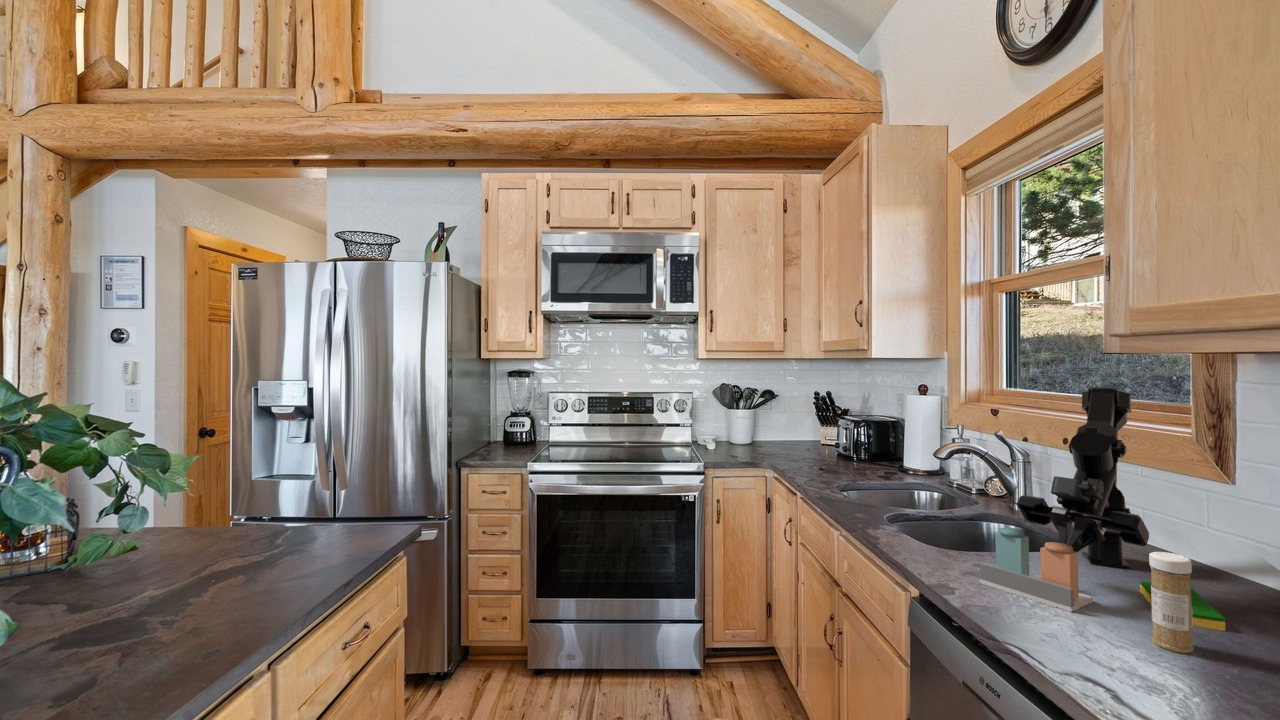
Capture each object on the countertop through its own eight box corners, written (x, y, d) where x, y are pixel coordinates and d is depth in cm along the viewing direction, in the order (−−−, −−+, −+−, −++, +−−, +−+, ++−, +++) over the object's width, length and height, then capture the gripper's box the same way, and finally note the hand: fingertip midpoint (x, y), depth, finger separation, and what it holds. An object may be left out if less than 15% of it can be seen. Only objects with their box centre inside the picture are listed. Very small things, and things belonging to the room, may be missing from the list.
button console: (1002, 574, 111) (1002, 555, 111) (1093, 601, 98) (1092, 580, 98) (979, 583, 107) (979, 563, 107) (1071, 612, 94) (1070, 589, 94)
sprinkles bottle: (1197, 648, 82) (1195, 556, 82) (1188, 657, 79) (1186, 563, 79) (1156, 636, 85) (1154, 548, 86) (1146, 644, 83) (1144, 554, 83)
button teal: (1005, 570, 110) (1004, 526, 110) (1030, 577, 106) (1029, 531, 106) (994, 574, 108) (993, 529, 108) (1020, 582, 104) (1019, 535, 104)
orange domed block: (1050, 588, 101) (1049, 540, 101) (1080, 597, 97) (1079, 547, 97) (1039, 593, 99) (1038, 544, 99) (1069, 602, 95) (1068, 551, 95)
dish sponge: (1165, 624, 90) (1165, 609, 90) (1139, 593, 102) (1139, 580, 102) (1226, 634, 87) (1226, 618, 87) (1191, 600, 99) (1191, 587, 99)
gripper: (1020, 453, 110) (990, 517, 104) (1140, 468, 94) (1114, 544, 88) (1040, 488, 114) (1013, 552, 108) (1160, 508, 98) (1135, 584, 92)
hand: (1063, 556), depth 99 cm, fingers closed, pressing on orange domed block
